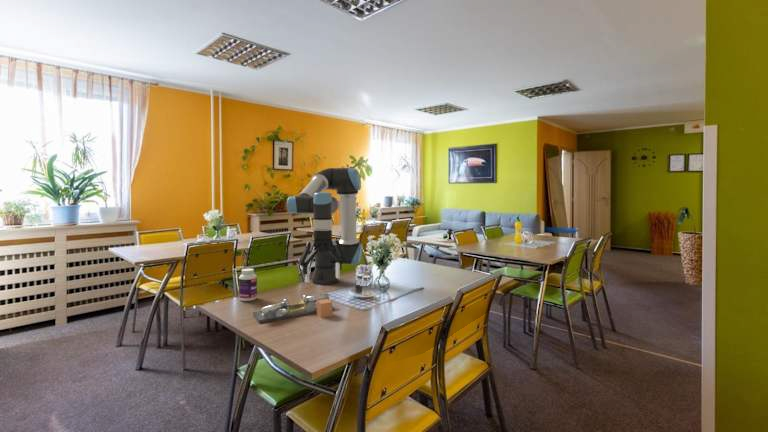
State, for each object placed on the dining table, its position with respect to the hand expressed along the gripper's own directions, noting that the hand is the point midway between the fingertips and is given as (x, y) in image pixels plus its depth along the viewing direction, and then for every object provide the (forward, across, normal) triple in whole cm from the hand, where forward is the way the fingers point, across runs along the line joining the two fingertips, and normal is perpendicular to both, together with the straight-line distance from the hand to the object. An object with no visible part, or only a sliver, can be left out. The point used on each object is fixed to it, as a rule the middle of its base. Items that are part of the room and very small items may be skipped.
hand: (322, 279), depth 155 cm
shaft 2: (+14, 0, -9) cm, 17 cm away
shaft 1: (+14, +19, -6) cm, 24 cm away
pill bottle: (+15, +23, -38) cm, 47 cm away
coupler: (+15, -1, 0) cm, 15 cm away
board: (+15, +10, -9) cm, 20 cm away
